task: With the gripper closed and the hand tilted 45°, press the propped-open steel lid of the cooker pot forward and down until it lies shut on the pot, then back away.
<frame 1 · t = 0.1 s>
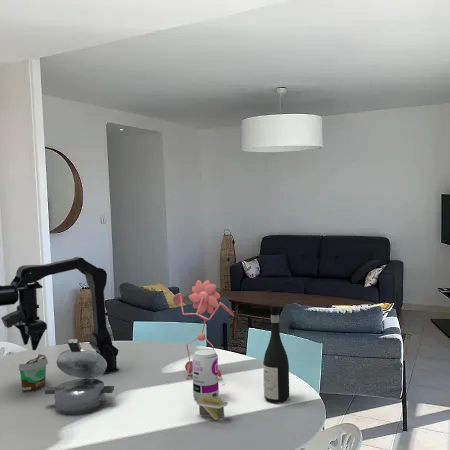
hand: (29, 347, 173), 15 cm above the table, tool pointing down, fingers open, 9 cm apart
cooker lid: (80, 358, 160), point 14 cm above the table, hinge at 50.0°
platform: (210, 420, 147), on the table
cooker pot: (80, 405, 158), on the table
figurine: (207, 375, 183), on the table
wine bottle: (276, 399, 159), on the table
food container: (38, 388, 175), on the table
supplement can: (206, 398, 162), on the table
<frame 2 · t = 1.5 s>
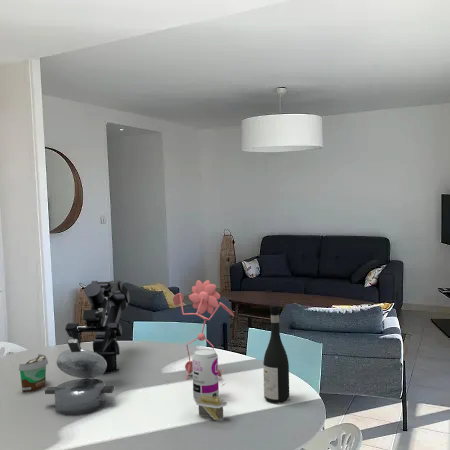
hand: (89, 351, 170), 13 cm above the table, tool tilted 45°, fingers open, 8 cm apart
nothing on the table moved.
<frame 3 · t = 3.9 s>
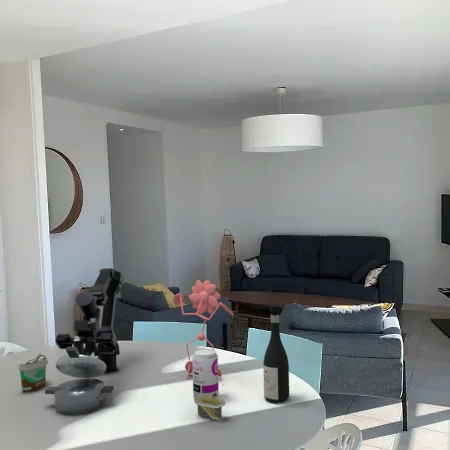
hand: (81, 364, 160), 12 cm above the table, tool tilted 45°, fingers closed, pressing on cooker lid
cooker lid: (79, 361, 159), point 14 cm above the table, hinge at 42.5°, touching gripper
everything else where it was.
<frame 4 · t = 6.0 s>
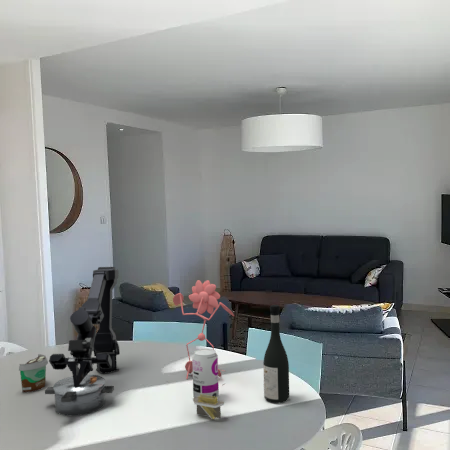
hand: (75, 386, 154), 7 cm above the table, tool tilted 45°, fingers closed, pressing on cooker lid
cooker lid: (77, 385, 156), point 7 cm above the table, hinge at -0.2°, touching gripper
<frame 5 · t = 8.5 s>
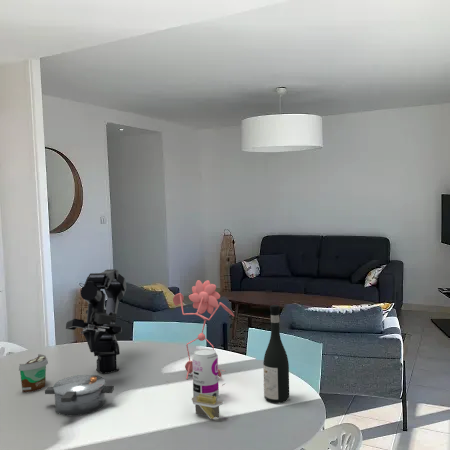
hand: (92, 352, 172), 13 cm above the table, tool tilted 25°, fingers closed
cooker lid: (77, 385, 156), point 7 cm above the table, hinge at -0.2°
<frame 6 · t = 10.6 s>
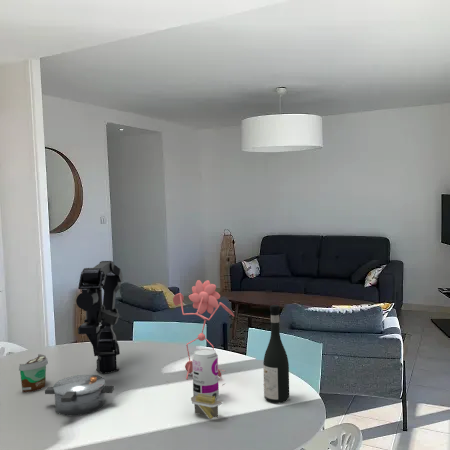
hand: (95, 347, 176), 13 cm above the table, tool pointing down, fingers closed
at the end: cooker lid at +0° (first picture: +50°); food container moved 0.2 cm from its start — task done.
